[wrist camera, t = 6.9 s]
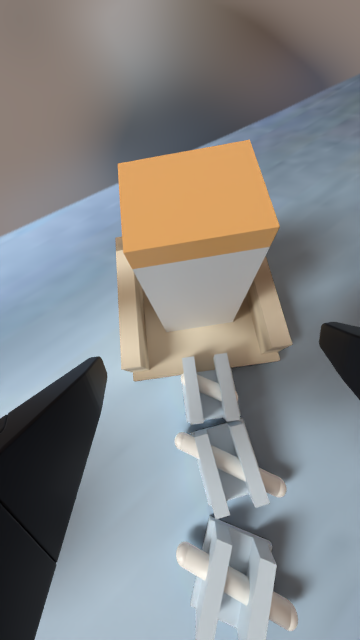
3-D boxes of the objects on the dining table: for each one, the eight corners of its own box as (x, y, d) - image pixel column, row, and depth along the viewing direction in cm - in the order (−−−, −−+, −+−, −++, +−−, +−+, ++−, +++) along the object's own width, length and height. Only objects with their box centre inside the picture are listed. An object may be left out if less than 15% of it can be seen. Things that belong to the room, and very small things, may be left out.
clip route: (263, 355, 16) (271, 350, 14) (300, 633, 11) (321, 682, 10) (175, 357, 16) (172, 353, 14) (178, 626, 12) (174, 671, 10)
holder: (277, 361, 16) (295, 354, 13) (135, 381, 16) (121, 379, 13) (245, 241, 19) (253, 214, 16) (127, 260, 19) (115, 237, 16)
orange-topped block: (232, 322, 16) (279, 226, 7) (166, 332, 16) (123, 252, 7) (222, 275, 18) (249, 139, 8) (160, 284, 18) (117, 163, 8)
